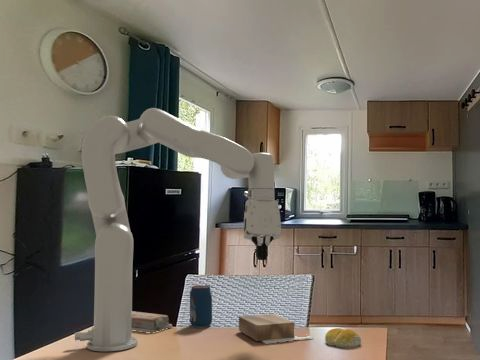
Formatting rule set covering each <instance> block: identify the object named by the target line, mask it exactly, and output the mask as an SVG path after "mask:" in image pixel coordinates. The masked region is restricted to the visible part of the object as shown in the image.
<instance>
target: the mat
mask: <svg viewBox="0 0 480 360" xmlns="http://www.w3.org/2000/svg"><path fill="white" fill-rule="evenodd" d="M309 338H313V339H314V337H313V336H311V335H309V336H307V337H297V336H295V337H294V338H284V339H274V340H264V341H261V342H262V343H263V344H266V345H267V344H269V345H270V344H278V343H277V342H279V343H287V342H286V341H289V342H294V341H293V340H299V339H309ZM309 340H310V339H309ZM299 341H300V340H299Z"/></svg>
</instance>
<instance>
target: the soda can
mask: <svg viewBox="0 0 480 360" xmlns="http://www.w3.org/2000/svg"><path fill="white" fill-rule="evenodd" d="M212 322H213V292H212V290H211V286H210V285H193V286H191V289H190V292H189V323H190V325H191V326H192V327H193V328H203V329H204V328H208V327H210V326H211V324H212Z"/></svg>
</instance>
